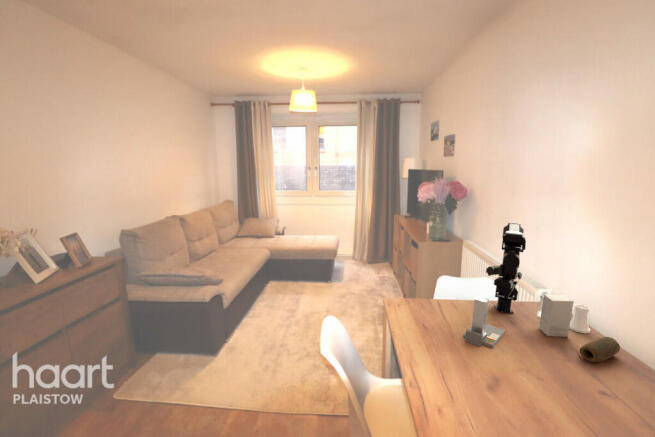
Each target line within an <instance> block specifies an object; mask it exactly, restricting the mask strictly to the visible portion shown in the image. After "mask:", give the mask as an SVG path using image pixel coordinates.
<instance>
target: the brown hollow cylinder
mask: <svg viewBox="0 0 655 437" xmlns="http://www.w3.org/2000/svg"><path fill="white" fill-rule="evenodd" d="M620 350H621V345H620V343H619V342H618V341H617V339H615V338H613V337H609V336H603V337H600V338H597V339H595V340H592V341H590V342H587V343H586V344H584V345H582V346H581V347H580V348H579V355H580V356H581V357H582V358H583V359H585V360H586V361H588V362H591V363H599V362H602V361H605V360H607V359H610V358H612V357H613V356H615V355H617V354H619V351H620Z"/></svg>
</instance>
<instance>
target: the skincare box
mask: <svg viewBox="0 0 655 437" xmlns="http://www.w3.org/2000/svg"><path fill="white" fill-rule="evenodd" d="M542 297H543V299H542V306H541V312H540V320H539V326H538V329H539V330H540V331H541V332H542V333H543V334H545V335H546V336H547V337H560V338H561V337H563V338H568V337H569V332H570V328H569V327H570V321H571V320H572V313H573V306H574V300H573V299H571V298H569V297H567V296H566V295H564V294H546V293H543V296H542Z"/></svg>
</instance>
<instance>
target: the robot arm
mask: <svg viewBox="0 0 655 437" xmlns="http://www.w3.org/2000/svg"><path fill="white" fill-rule="evenodd" d="M524 231H525V230H524V228H523V227H521V223H519V222H512V221H511V222H507V225H506V226H504V227H503V229H502V237H501V238H502V242H501V250H503V254H502V255H503V256H502V263H501V264H500V265H494V266H492V265H491V266H487V267H486V271H485V273H486V274H487V276H488V277H491V276H498V277H496V278H495V279H494V280H493V285H494V286H496V287H495V294H494V297H495V298H497V301H496V302H497V303H496V304H494V306H493V307H494V308H495V309H496V310H497V311H498V313H509V314H514V310H512V302H516V301H517V300H518V296H519V291H518V288H517V287H516V286H517V284H518V283H519V282H518V281H515V280H516V279H518V280H521V279H522V278H523V273H522V272H521V271H519V270H518V269H519V268H520V263H521V259H520V253H524V251H525V250H526V242H527V239H526V237H525V236H524Z"/></svg>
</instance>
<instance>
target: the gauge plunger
mask: <svg viewBox="0 0 655 437" xmlns="http://www.w3.org/2000/svg"><path fill="white" fill-rule="evenodd" d="M489 303H490V299H489V298H486V297H483V296H479V295H477V297H475V298H474V303H473V310H472V311H473V312H472V321H471V326H472V328H471V331H474V332H477V333H480V334H483V337H482V341H483V339H484V338H485V337H486V336H487V333H486V332H485V330H486V324H487V322H488V320H487V319H488V312H489ZM487 339H490V340H492V341H495V339H493V338H491V337H488V336H487Z"/></svg>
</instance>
